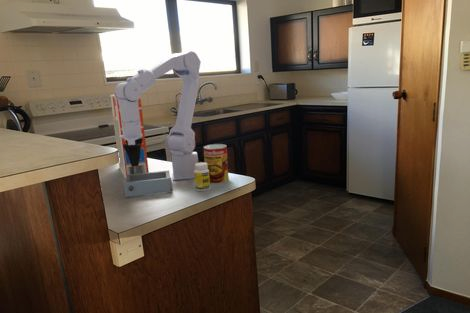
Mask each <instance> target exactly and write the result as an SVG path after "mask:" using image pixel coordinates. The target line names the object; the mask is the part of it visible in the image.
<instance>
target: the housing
mask: <svg viewBox="0 0 470 313" xmlns="http://www.w3.org/2000/svg"><path fill="white" fill-rule="evenodd" d="M169 177H171V173H170V170H159V171H151V172H150V171H149V173H140V174H130V175H127V177H126V179H125V181H124V182H133V181H142V180H152V179H161V178H169Z"/></svg>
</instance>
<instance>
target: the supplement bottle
mask: <svg viewBox="0 0 470 313" xmlns="http://www.w3.org/2000/svg"><path fill="white" fill-rule="evenodd" d="M207 168H208V165H207V163H205V161H203V162H201V161H200V162H198V163H196V164H195V169H196V170H195V171H194V175H195V178H194V183H195V184H194V185H195V186H194V187H195V190H196V192H197V191H198V192H204V191H205V192H206V191H208V190H210V189H211V183H210V177H209V169H207Z"/></svg>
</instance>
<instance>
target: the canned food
mask: <svg viewBox="0 0 470 313" xmlns="http://www.w3.org/2000/svg"><path fill="white" fill-rule="evenodd" d="M203 156H204V157H203V158H204V161H203V162H205V163H207V165H208V168H207V169H209V177H210V184H213V185H214V184H215V185H216V184H217V185H218V184H223V183H226V182H228V181H229V165H228V148H227V145H226V144H223V143H213V144H207V145H205V146H204V145H203Z"/></svg>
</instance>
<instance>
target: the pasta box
mask: <svg viewBox="0 0 470 313" xmlns="http://www.w3.org/2000/svg"><path fill="white" fill-rule="evenodd" d="M109 97H110V104H111V111H112V112H111V114H112V121H113V128H114V135H115V136H114V138H115V143H116V144H115V145H116V150H117V149H118V151H119V158H120V163H119V162H118V166H119V170H120V171H121V173H122V175H123V178H125V180H126V177H127V175H130V174H140V173H149V172H150V171H149V170H150V169H149V163H148V155H147V154H148V153H147V146H146V137H145V136H146V135H145V127H144V119H143V118H144V117H143V108H142V99H141V97H140V98H139V99H138V106H139V115H140V124H141V132H142V135H143V136H142V137H141V138H143V141H142V145H141V150H140V160H139V165H138V166H131V163H130V160H129V157H128V155H127V152H126V151H125V149H124V148H123V144H127V143H126V142H125V141H126V140H125V139H123V138H119V136H121V135H123V131H122V122H121V115H120V107H119V103H118V100H117V99H116V98H115V96H114V93H113V94H110V95H109Z"/></svg>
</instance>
